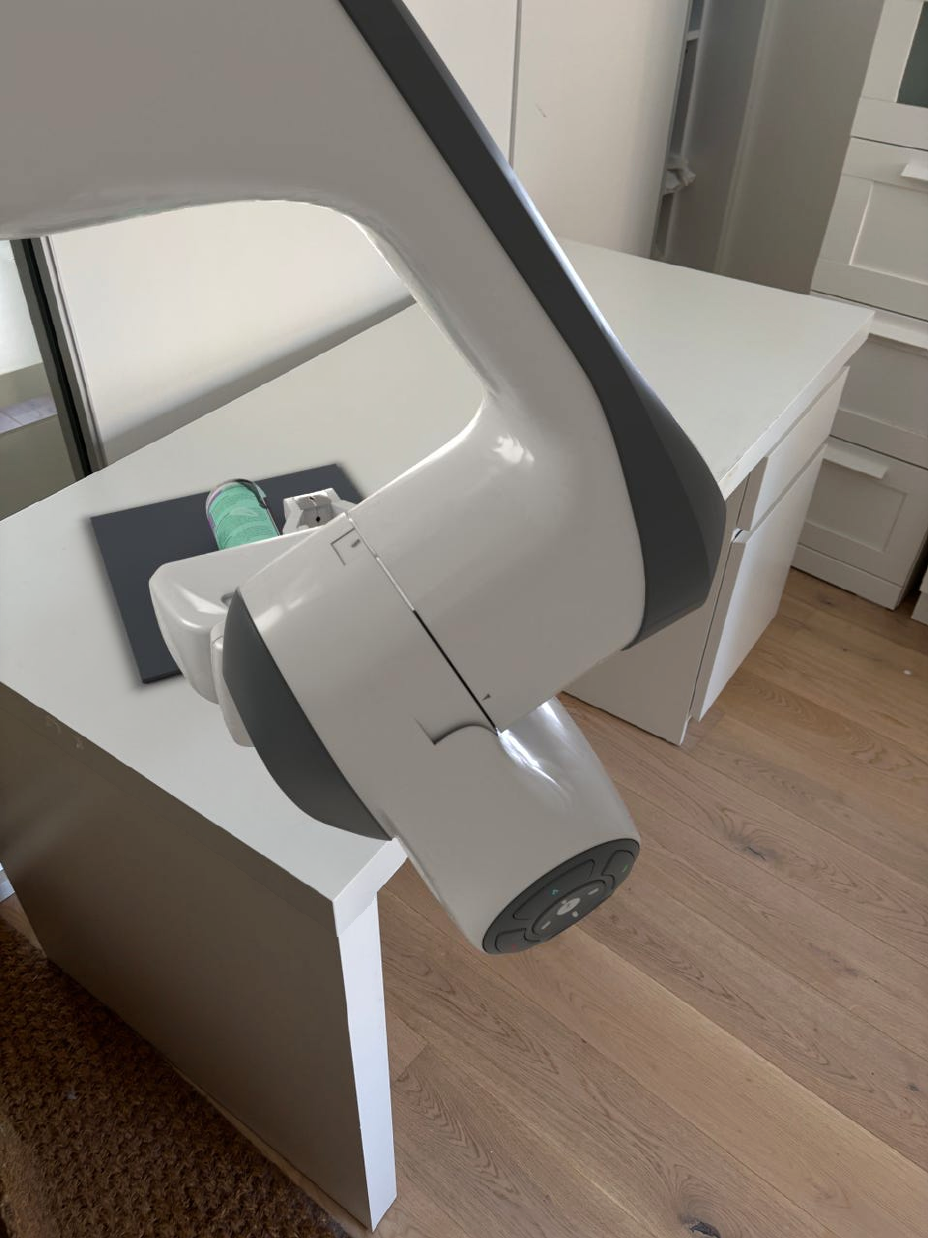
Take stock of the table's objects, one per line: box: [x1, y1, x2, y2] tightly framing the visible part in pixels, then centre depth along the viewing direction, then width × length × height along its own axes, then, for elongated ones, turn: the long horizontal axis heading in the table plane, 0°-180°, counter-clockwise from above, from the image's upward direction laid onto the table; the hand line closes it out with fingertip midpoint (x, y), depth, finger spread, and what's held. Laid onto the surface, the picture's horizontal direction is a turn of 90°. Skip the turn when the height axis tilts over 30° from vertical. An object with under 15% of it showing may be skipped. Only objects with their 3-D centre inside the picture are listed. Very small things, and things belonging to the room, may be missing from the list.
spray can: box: [206, 477, 283, 550], centre depth 81 cm, size 6×6×20 cm
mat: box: [89, 463, 363, 684], centre depth 85 cm, size 24×24×1 cm
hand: (308, 503), depth 56 cm, fingers closed
